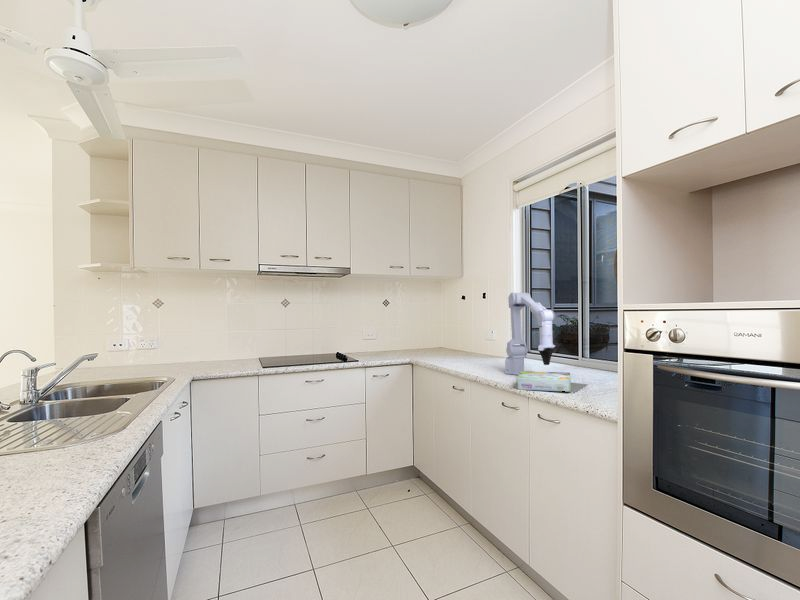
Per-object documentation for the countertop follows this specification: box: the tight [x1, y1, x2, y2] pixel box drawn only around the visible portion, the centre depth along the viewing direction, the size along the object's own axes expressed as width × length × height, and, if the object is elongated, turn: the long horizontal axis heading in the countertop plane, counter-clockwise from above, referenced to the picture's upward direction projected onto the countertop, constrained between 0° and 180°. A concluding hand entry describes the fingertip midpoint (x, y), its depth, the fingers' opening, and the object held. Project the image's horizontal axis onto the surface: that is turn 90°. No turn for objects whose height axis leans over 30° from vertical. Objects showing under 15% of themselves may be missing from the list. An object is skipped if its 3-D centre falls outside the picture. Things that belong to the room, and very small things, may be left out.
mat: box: [564, 382, 588, 394], centre depth 164 cm, size 12×20×1 cm, turn 139°
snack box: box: [516, 370, 572, 393], centre depth 163 cm, size 21×6×15 cm
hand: (546, 364), depth 172 cm, fingers closed
